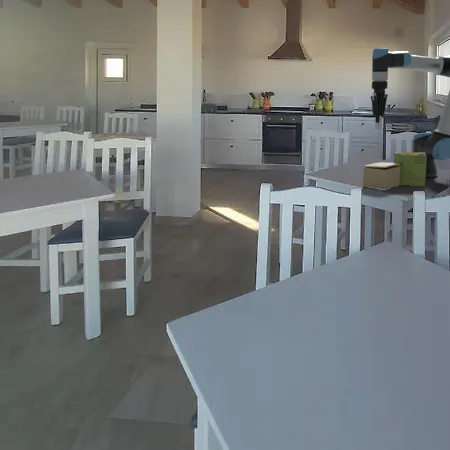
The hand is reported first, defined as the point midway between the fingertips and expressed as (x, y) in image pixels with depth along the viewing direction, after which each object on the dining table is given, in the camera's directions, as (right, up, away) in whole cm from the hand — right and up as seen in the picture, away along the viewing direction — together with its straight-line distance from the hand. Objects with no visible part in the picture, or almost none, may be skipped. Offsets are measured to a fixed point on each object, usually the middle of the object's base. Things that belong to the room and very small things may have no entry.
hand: (378, 129), depth 322 cm
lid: (+1, -19, -3) cm, 19 cm away
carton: (+1, -29, -1) cm, 29 cm away
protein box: (+17, -27, +6) cm, 33 cm away
